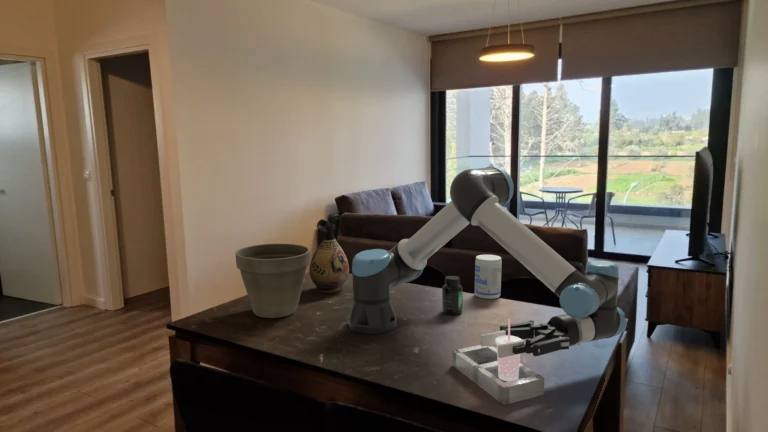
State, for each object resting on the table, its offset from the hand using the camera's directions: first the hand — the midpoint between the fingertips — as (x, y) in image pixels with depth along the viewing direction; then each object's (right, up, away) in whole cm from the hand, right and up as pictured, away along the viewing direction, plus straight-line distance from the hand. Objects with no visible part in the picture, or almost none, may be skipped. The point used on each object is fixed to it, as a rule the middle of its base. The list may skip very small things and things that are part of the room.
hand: (490, 346), depth 115 cm
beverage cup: (+5, -8, +3) cm, 10 cm away
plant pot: (-61, -4, +61) cm, 86 cm away
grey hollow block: (+3, -10, +8) cm, 13 cm away
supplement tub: (+14, 0, +74) cm, 75 cm away
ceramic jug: (-45, 0, +86) cm, 97 cm away
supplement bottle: (-1, -3, +57) cm, 57 cm away
